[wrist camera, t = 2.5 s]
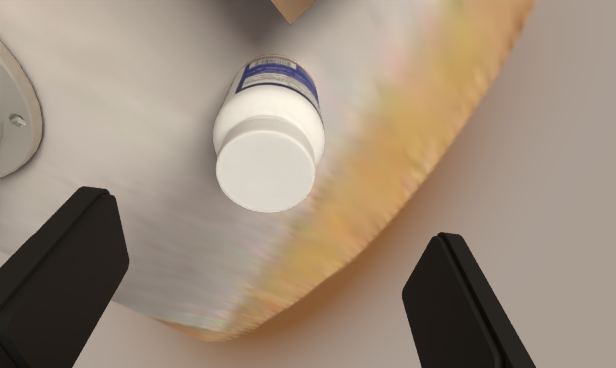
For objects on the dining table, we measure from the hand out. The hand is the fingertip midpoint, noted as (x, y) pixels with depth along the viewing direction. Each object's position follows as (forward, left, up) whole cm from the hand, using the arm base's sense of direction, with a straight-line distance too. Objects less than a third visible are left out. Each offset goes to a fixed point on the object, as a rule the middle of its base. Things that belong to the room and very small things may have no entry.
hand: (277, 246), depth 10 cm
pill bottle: (0, 0, -13) cm, 13 cm away
